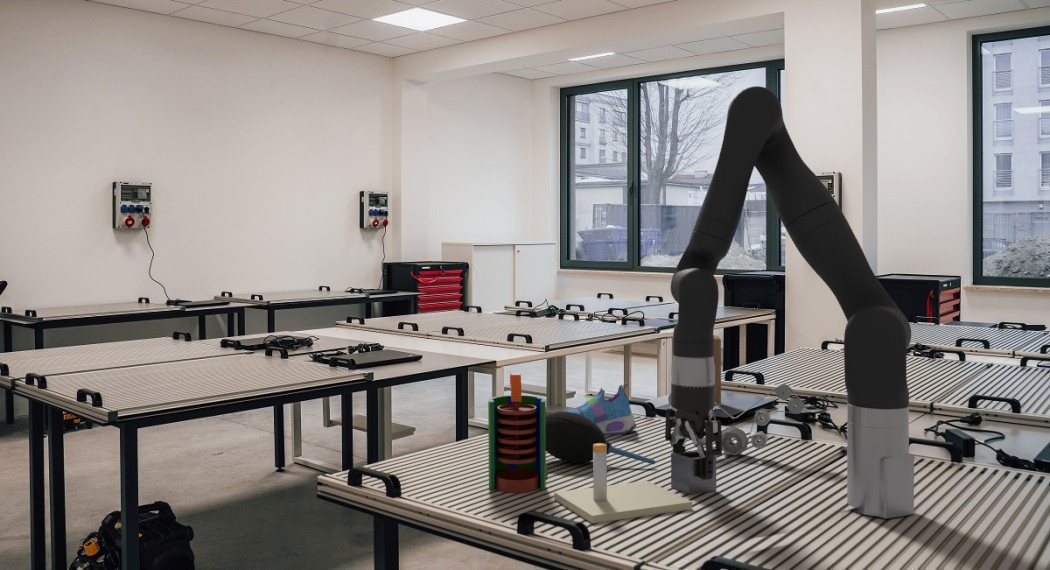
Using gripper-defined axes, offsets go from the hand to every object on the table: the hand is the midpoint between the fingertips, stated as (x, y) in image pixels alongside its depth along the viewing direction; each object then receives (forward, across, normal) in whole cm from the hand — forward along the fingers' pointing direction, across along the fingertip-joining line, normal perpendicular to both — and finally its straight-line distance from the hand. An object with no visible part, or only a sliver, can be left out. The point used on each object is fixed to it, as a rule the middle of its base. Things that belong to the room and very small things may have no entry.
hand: (692, 472), depth 144 cm
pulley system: (+3, +18, -22) cm, 28 cm away
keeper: (+3, -4, +16) cm, 17 cm away
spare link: (+3, +20, +22) cm, 30 cm away
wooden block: (+3, +63, -44) cm, 77 cm away
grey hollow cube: (+3, -1, 0) cm, 3 cm away
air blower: (+3, +23, +8) cm, 25 cm away
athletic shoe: (+4, +47, -4) cm, 48 cm away
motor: (+3, +13, +28) cm, 31 cm away
